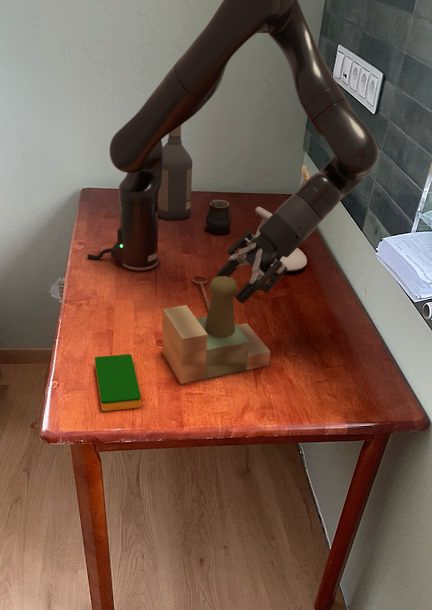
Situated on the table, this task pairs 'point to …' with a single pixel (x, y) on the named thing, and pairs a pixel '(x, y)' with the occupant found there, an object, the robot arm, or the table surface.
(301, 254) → the flower in vase
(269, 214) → the tablet stand
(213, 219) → the mate gourd
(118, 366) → the dish sponge
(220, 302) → the brown pawn figure
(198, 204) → the table surface
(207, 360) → the stepped block
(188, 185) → the liquor
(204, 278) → the key
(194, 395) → the table surface
